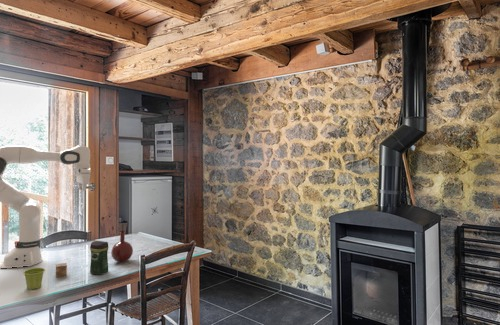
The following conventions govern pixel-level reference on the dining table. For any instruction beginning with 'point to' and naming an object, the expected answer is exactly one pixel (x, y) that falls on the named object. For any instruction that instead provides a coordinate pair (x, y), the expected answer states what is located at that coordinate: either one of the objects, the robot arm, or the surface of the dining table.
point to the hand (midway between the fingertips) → (82, 190)
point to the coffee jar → (99, 257)
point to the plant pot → (34, 277)
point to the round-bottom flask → (122, 249)
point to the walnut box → (61, 270)
